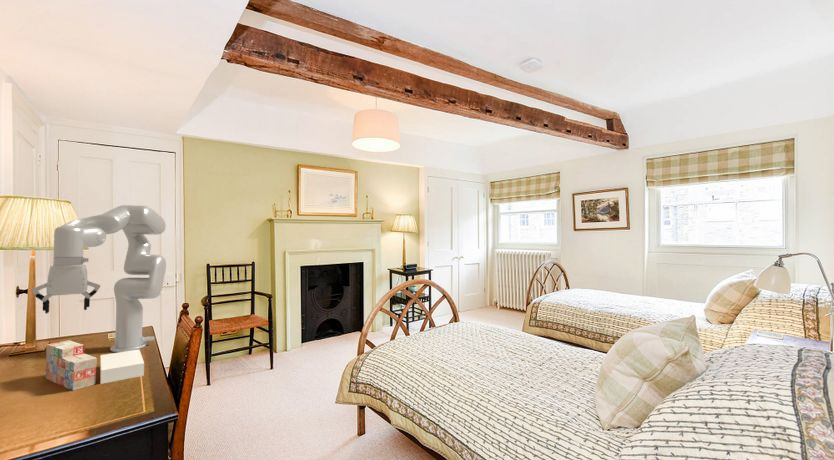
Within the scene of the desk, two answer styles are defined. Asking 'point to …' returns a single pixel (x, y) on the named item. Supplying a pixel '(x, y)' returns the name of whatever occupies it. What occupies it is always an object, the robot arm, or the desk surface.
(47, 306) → the robot arm
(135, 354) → the block
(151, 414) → the desk surface
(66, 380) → the stack of blocks
